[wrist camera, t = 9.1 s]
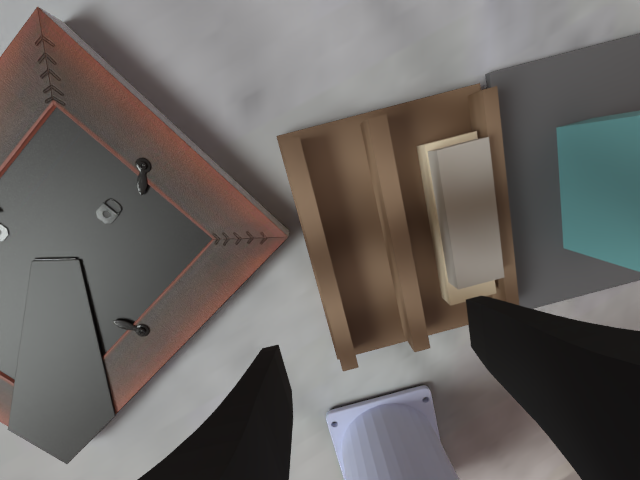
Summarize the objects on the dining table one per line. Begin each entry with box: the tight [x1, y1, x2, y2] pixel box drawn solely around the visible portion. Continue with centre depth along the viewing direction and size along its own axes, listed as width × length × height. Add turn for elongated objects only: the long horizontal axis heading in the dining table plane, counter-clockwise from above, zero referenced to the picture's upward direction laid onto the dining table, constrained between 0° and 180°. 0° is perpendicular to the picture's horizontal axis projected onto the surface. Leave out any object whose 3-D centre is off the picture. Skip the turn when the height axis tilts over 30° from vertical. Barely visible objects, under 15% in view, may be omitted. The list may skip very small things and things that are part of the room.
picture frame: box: [0, 7, 289, 464], centre depth 19 cm, size 16×2×22 cm
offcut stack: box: [417, 131, 504, 306], centre depth 18 cm, size 10×3×2 cm, turn 14°
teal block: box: [556, 111, 640, 272], centre depth 17 cm, size 8×2×8 cm, turn 14°
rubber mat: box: [486, 34, 640, 309], centre depth 20 cm, size 16×10×1 cm, turn 14°
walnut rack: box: [277, 83, 519, 371], centre depth 19 cm, size 15×12×3 cm
